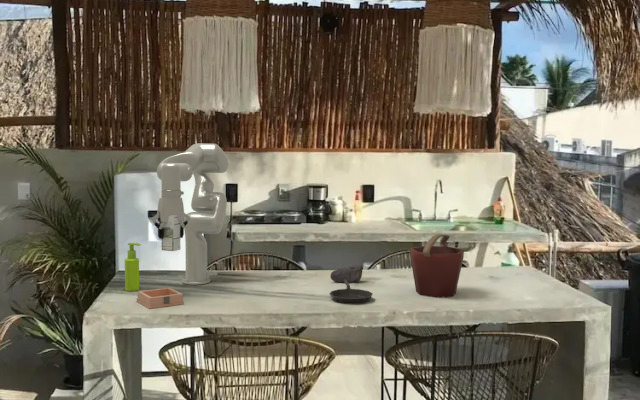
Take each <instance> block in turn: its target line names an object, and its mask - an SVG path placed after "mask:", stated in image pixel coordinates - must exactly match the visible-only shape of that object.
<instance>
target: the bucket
mask: <svg viewBox="0 0 640 400" xmlns="http://www.w3.org/2000/svg"><path fill="white" fill-rule="evenodd" d="M450 237H451V235H448V234H443V233H441V234H440V233H439V234H434V235H432V236H431V238H429V240H428V242H427V243H425V244H424V245H422V246H416V247H410V248H409V249H410V250H409V257H410V262H411V268H412V275H413V281H414V287H415V291H416V293H417V294H418V295H419V296H423V297H428V298H429V297H430V298H451V297H454V296H455V295H456V293H457V289H458V288H457V287H458V283H459V280H460V275H461V270H462V266H463V261H464V257H465V253H464V250H465V249H462V248H457V247H456V248H455V247H451V246H449V245H448V241H449V239H450ZM439 238H441V239H440V241H439V245H438V246H437V245H435V244H436V242H437V241H438V240H439Z"/></svg>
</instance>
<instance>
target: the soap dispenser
mask: <svg viewBox="0 0 640 400" xmlns="http://www.w3.org/2000/svg"><path fill="white" fill-rule="evenodd" d="M141 245H142V244H141V243H139V242H128V243H127V246H129V250H127V258H124V290H125V291H127V292H135V291H136V292H137V291H140V258H137V251H136V250H135V249H134V248H135V247H134V246H141Z"/></svg>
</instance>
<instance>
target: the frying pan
mask: <svg viewBox="0 0 640 400" xmlns="http://www.w3.org/2000/svg"><path fill="white" fill-rule="evenodd" d="M343 280H344V282H345V283H344V284H345V285H346V288H339V289H338V288H337V289H335V290H331V291H330V292H329V296H330V297H331V298H332V299H333V301H335V302H337V303H341V304H351V305H352V304H354V305H356V304H364V303H368V302H369V300H370V299H371V298H372V297H373V294H374V293H373V292H371V291H369V290H366V289H365V290H364V289H360V288H357V289H356V288H351V285H350V283H348V281H347V280H346V279H343Z"/></svg>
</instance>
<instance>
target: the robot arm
mask: <svg viewBox="0 0 640 400" xmlns="http://www.w3.org/2000/svg"><path fill="white" fill-rule="evenodd" d="M228 168H229V158H228V157H227V155H226V153H225V152H224V150H223V149H222V148H221V146H219V145H218V144H217V143H206V142H205V143H202V142H201V143H194V144H192V145H190V146H189V148H187V149H186V150H185V151H184V152H182V153H178V154H175V155H172V156H168V157H167V158H164V159H163V160H161V162H160V163H159V164H158V166H157V169H156V175H157V178H158V179H159V180H160V183H161V197H159V198H158V203H157V210H156V211H157V212H156V214H155V215H154V216H152V217H151V218H150V221H151V222H152V224H153V225H154V226H155V227H156V229H157V236H158V239H159V240H162V239H163V237H164V230H163V229H162V228H163V226H164V224H165V223H167V222H168V218H169V216H170V215H177V219H178V222H179V223H180V239H183V238H184V237H185V278H182V279H181V282H182V284H185V285H193V286H195V285H196V286H197V285H205V284H209V283H210V282H211V281H212V280H211V278H213V277H218V272H217V271H214V272H213V271H208V242H207V239H206V238H205V236H204V234H205V235H217V234H220V233H221V231H222V230H223V227H224V221H225V216H226V212H227V206H228V202H227V197H226V194H224V193H223V192H220V191H214V187H215V184H214V182H213V181H214V180H212V178H211V177H210V176H209V175H208V173H209V174H223V173H225V172H227V171H228V170H229V169H228ZM192 177H193V178H194V183H195V185H194V188H193V193H192V197H191V202H190V206H191V210H192V212H188V213H185V209H184V207H185V206H184V200H183V197H182V196H183V195H184V191H182V190H181V189H182V188H181V182H188V181H189V180H191V179H192Z"/></svg>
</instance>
